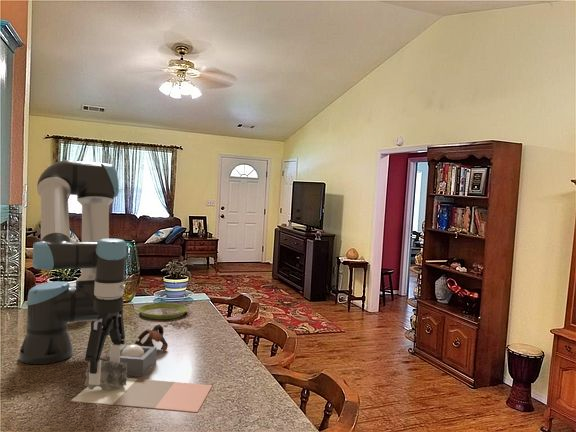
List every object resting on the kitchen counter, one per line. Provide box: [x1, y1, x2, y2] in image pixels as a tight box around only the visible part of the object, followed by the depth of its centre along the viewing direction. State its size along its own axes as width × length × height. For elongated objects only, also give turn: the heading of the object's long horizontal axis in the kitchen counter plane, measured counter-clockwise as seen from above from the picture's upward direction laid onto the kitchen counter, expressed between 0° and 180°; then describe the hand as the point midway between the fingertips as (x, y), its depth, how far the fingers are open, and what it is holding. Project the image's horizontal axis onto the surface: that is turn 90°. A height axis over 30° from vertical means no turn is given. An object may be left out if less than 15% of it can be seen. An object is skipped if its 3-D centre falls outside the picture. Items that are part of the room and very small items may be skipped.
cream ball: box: [121, 343, 144, 357], centre depth 138 cm, size 7×7×7 cm
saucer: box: [138, 302, 188, 320], centre depth 198 cm, size 21×21×3 cm
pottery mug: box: [134, 324, 168, 353], centre depth 154 cm, size 12×9×8 cm
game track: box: [70, 377, 213, 414], centre depth 122 cm, size 33×16×1 cm, turn 86°
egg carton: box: [84, 359, 128, 390], centre depth 123 cm, size 11×8×4 cm
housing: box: [106, 344, 158, 377], centre depth 138 cm, size 11×11×5 cm
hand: (104, 375), depth 123 cm, fingers open, 11 cm apart
